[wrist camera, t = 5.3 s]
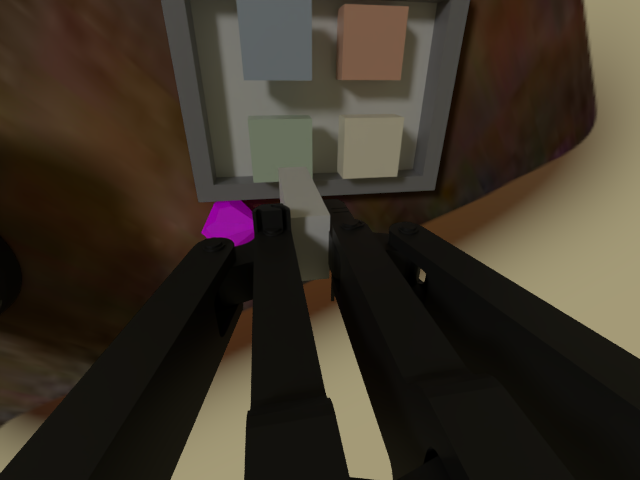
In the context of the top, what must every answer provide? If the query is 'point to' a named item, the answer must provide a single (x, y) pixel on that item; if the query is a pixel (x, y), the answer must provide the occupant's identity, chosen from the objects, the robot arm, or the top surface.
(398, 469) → the robot arm
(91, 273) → the top surface
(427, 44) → the grey tray
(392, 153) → the key cream
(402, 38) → the key terracotta
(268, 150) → the key sage
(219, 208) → the crystal
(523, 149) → the top surface
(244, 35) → the key slate
